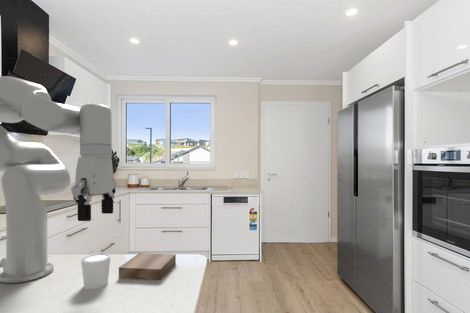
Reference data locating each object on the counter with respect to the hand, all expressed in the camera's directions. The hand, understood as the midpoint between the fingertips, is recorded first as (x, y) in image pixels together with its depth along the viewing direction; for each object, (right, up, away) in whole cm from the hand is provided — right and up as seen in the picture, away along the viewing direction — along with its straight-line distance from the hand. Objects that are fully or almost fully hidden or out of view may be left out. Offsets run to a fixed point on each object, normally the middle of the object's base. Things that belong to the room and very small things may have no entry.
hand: (96, 216), depth 73 cm
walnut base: (+11, -18, +8) cm, 23 cm away
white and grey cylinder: (0, -18, 0) cm, 18 cm away
